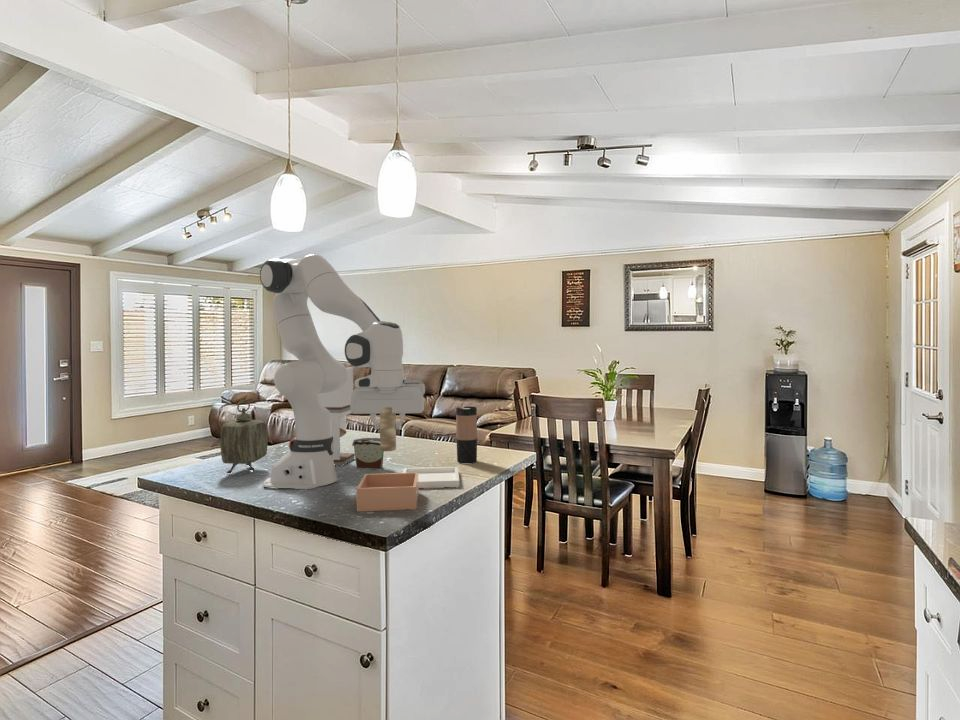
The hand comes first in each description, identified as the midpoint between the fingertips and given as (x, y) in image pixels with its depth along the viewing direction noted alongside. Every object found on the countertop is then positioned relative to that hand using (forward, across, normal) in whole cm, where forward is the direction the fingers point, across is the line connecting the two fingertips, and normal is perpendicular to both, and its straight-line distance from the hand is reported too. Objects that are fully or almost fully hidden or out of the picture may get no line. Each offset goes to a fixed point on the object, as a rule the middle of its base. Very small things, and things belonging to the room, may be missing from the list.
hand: (387, 429), depth 149 cm
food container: (+21, +10, -42) cm, 48 cm away
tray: (+20, -11, -21) cm, 31 cm away
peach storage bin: (+20, 0, 0) cm, 20 cm away
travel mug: (+21, -24, -46) cm, 56 cm away
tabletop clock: (+21, +53, -40) cm, 69 cm away
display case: (+21, +25, -52) cm, 61 cm away
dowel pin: (+6, 0, 0) cm, 6 cm away
